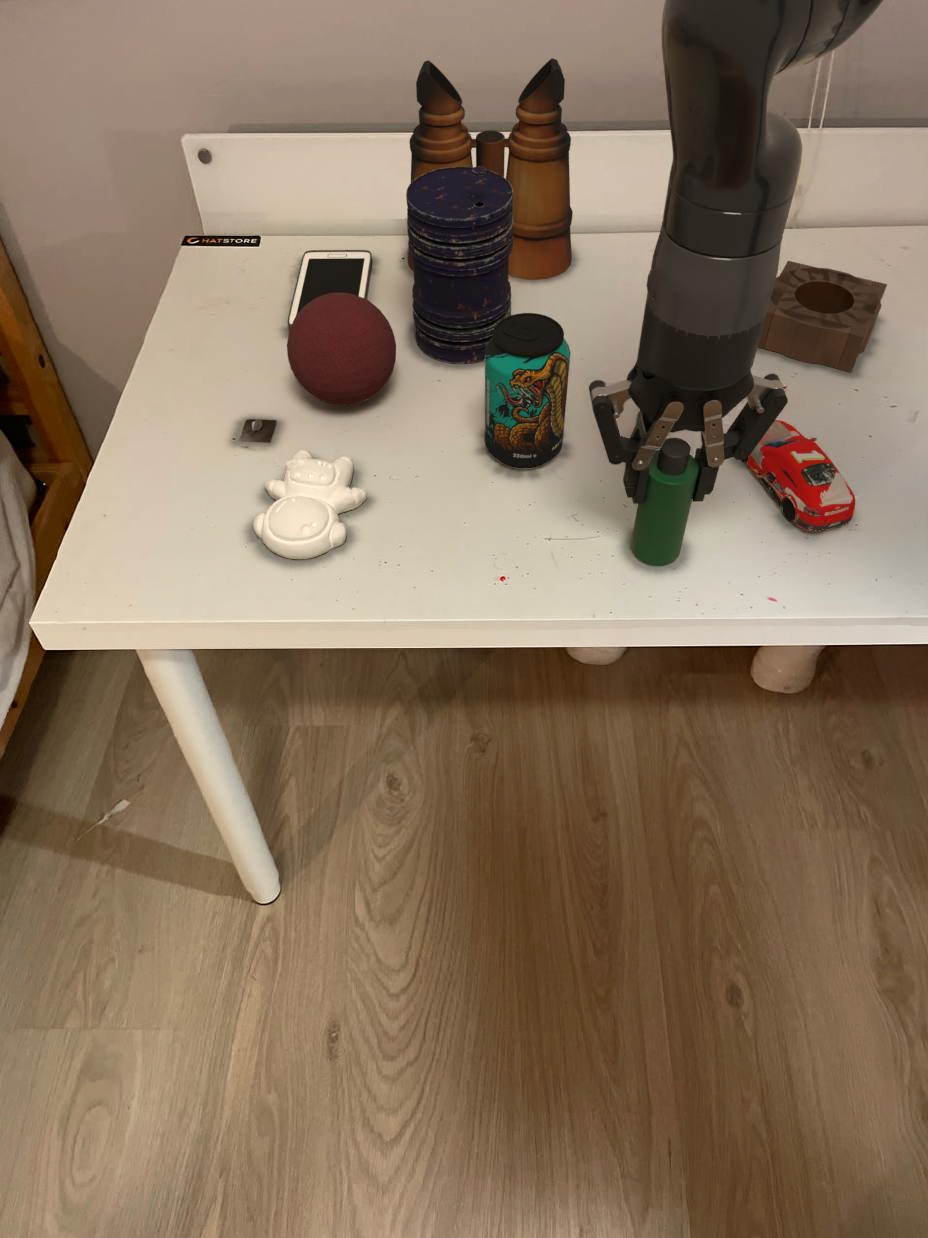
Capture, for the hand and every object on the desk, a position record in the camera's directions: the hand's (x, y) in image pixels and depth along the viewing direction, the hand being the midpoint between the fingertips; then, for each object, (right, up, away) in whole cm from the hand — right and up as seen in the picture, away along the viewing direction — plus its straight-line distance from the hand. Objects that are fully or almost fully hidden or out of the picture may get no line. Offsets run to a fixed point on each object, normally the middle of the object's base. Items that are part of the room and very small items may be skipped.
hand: (666, 494), depth 72 cm
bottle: (0, -4, +5) cm, 6 cm away
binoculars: (-13, +31, +33) cm, 47 cm away
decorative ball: (-27, +12, +18) cm, 34 cm away
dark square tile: (-35, +8, +15) cm, 38 cm away
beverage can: (-10, +6, +13) cm, 18 cm away
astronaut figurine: (-29, 0, +9) cm, 30 cm away
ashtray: (+20, +20, +23) cm, 36 cm away
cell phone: (-30, +25, +29) cm, 48 cm away
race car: (+13, +2, +9) cm, 16 cm away
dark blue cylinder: (-16, +19, +24) cm, 35 cm away
